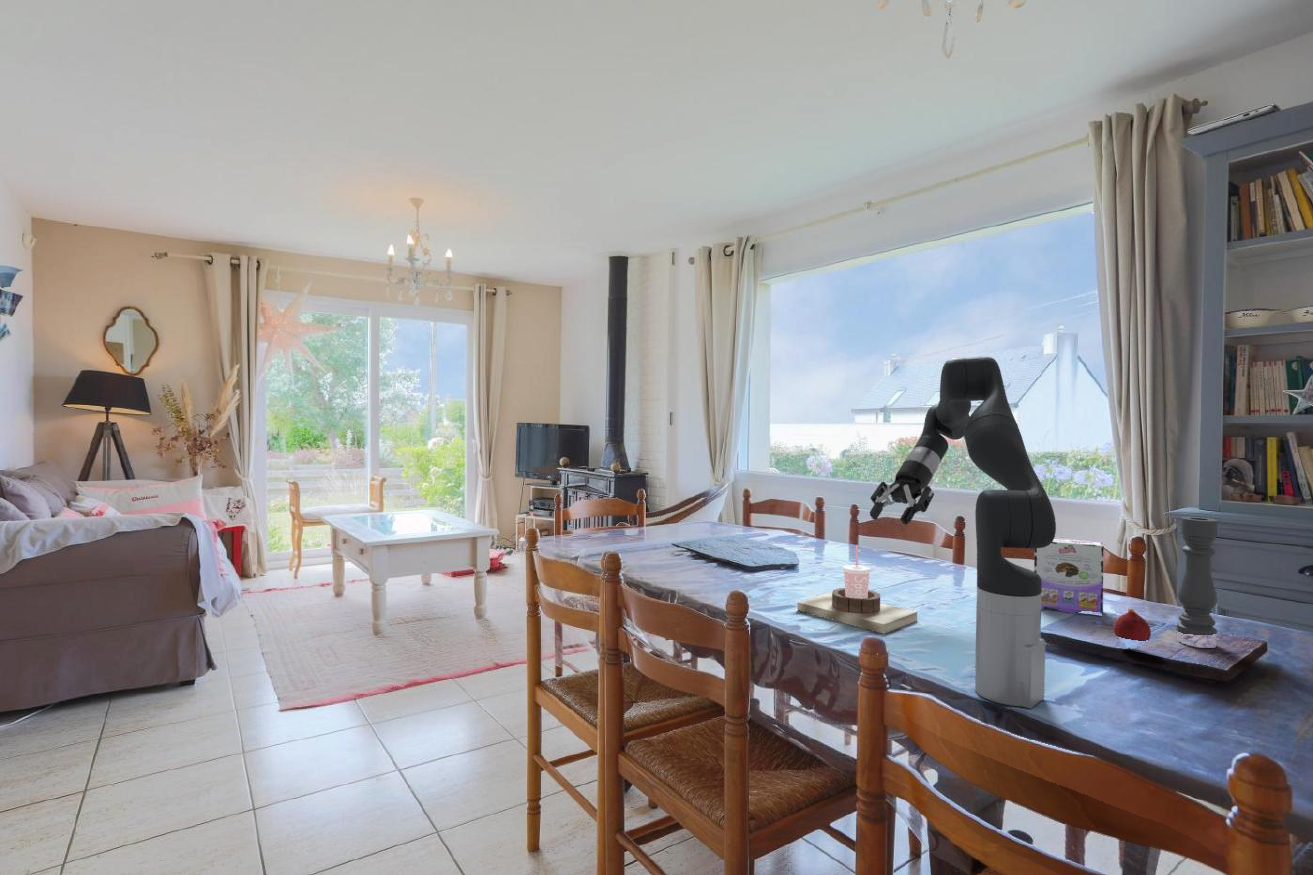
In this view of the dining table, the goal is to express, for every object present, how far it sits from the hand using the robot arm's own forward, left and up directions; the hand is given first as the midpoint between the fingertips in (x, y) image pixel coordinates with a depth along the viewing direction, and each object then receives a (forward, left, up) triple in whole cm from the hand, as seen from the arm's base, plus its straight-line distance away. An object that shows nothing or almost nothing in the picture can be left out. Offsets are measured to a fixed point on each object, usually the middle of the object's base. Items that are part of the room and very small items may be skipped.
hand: (887, 519), depth 156 cm
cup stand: (+1, +11, -21) cm, 24 cm away
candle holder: (-54, -24, -21) cm, 62 cm away
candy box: (-29, -31, -21) cm, 47 cm away
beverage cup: (+1, +11, -19) cm, 22 cm away
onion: (-46, -10, -21) cm, 52 cm away
